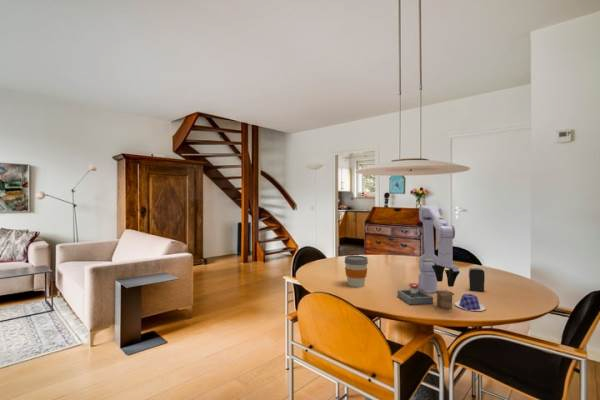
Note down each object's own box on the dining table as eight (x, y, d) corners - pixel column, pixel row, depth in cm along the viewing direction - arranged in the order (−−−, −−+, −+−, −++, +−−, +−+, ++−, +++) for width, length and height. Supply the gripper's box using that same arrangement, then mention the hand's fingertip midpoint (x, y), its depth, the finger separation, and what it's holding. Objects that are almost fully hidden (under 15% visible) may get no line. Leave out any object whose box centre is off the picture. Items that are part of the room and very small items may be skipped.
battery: (483, 290, 157) (483, 268, 157) (484, 292, 153) (485, 269, 153) (468, 288, 159) (468, 267, 159) (469, 290, 156) (469, 268, 156)
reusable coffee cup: (367, 288, 159) (368, 260, 159) (343, 287, 161) (344, 259, 161) (367, 282, 171) (367, 255, 171) (345, 280, 174) (345, 255, 174)
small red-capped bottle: (415, 297, 144) (415, 282, 144) (421, 300, 140) (421, 285, 140) (407, 297, 143) (407, 283, 143) (412, 300, 139) (412, 286, 139)
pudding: (466, 301, 141) (466, 289, 141) (491, 309, 130) (492, 297, 130) (448, 305, 136) (448, 293, 136) (473, 314, 125) (473, 301, 125)
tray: (397, 296, 147) (397, 290, 147) (418, 295, 149) (418, 289, 149) (410, 305, 135) (410, 298, 135) (432, 303, 137) (432, 297, 137)
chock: (435, 305, 134) (435, 290, 134) (446, 305, 135) (447, 290, 135) (442, 309, 130) (442, 294, 130) (453, 308, 131) (453, 293, 131)
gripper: (427, 250, 139) (427, 279, 139) (447, 256, 124) (447, 289, 124) (441, 249, 140) (440, 279, 140) (463, 255, 125) (462, 288, 126)
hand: (445, 283), depth 132 cm, fingers open, 7 cm apart
